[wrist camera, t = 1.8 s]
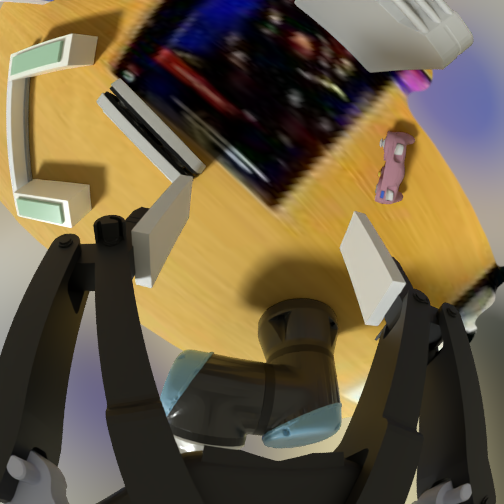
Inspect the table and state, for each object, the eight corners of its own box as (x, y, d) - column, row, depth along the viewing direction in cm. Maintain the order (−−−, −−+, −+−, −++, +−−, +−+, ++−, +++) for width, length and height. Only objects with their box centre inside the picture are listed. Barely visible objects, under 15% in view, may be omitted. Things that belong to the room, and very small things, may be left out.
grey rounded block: (104, 111, 30) (77, 100, 20) (129, 87, 29) (109, 67, 20) (181, 190, 36) (177, 203, 27) (206, 167, 36) (211, 172, 27)
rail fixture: (91, 209, 38) (69, 230, 33) (29, 199, 37) (7, 215, 32) (98, 36, 23) (69, 33, 17) (26, 55, 22) (-1, 59, 16)
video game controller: (384, 125, 30) (380, 128, 25) (415, 134, 29) (418, 139, 23) (372, 191, 36) (366, 206, 31) (401, 199, 34) (400, 217, 29)
